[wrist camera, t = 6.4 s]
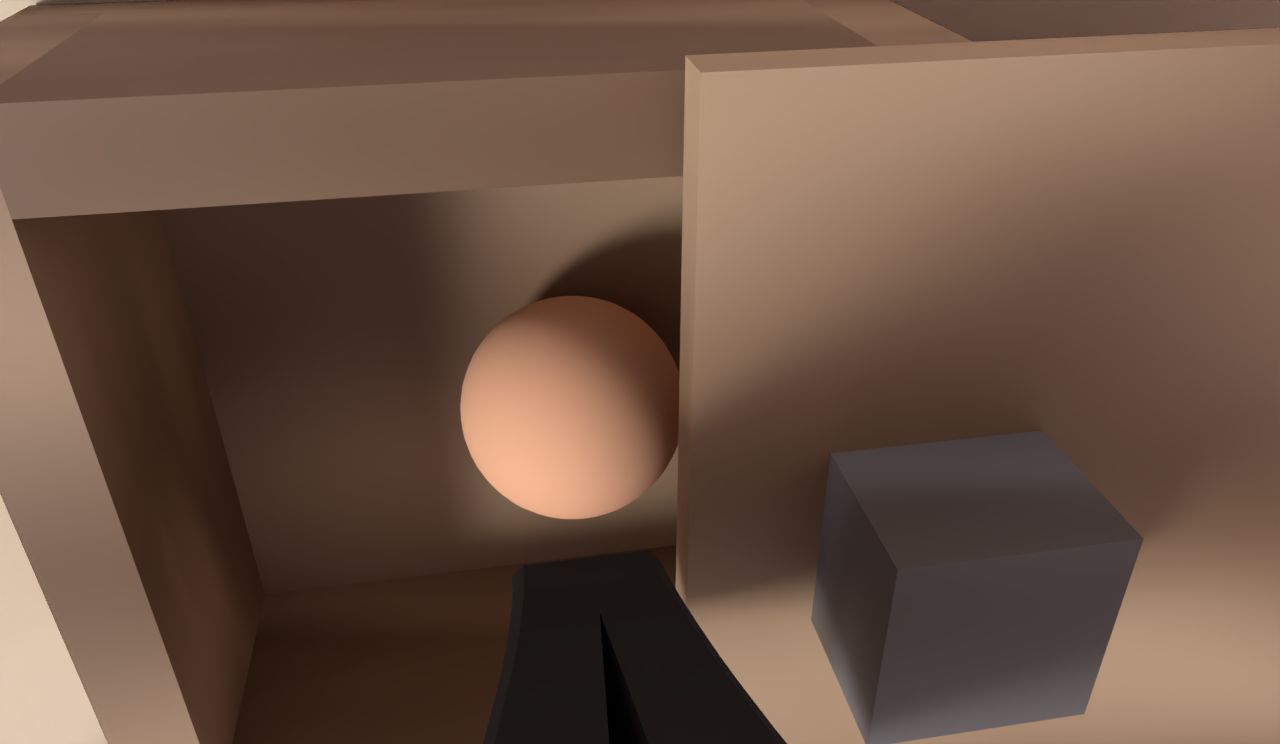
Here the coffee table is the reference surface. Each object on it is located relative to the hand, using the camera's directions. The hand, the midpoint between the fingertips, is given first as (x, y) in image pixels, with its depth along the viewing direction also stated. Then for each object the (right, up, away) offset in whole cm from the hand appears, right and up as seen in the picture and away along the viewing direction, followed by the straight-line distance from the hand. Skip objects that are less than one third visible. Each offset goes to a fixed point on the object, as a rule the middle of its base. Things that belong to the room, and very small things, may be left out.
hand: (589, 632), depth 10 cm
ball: (-1, +3, +5) cm, 6 cm away
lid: (+6, +1, +2) cm, 7 cm away
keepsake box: (-2, +3, +5) cm, 6 cm away
